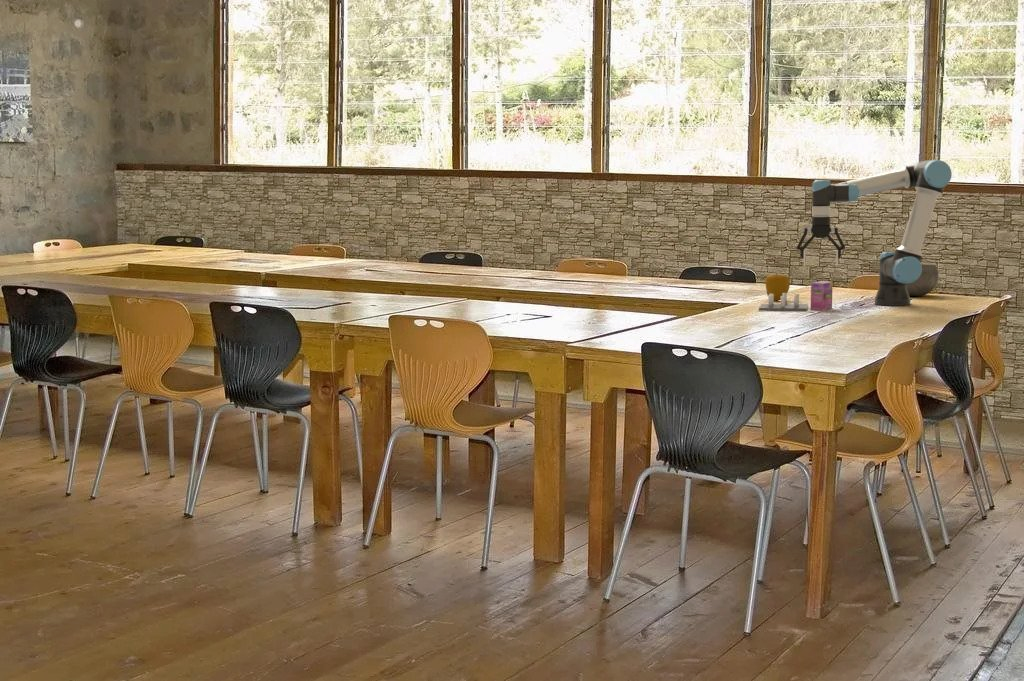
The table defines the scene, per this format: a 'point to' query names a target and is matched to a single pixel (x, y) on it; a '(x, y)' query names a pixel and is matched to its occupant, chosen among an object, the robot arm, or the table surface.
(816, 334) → the table surface
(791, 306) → the pin tray
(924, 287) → the bowl
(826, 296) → the box
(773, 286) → the apple
